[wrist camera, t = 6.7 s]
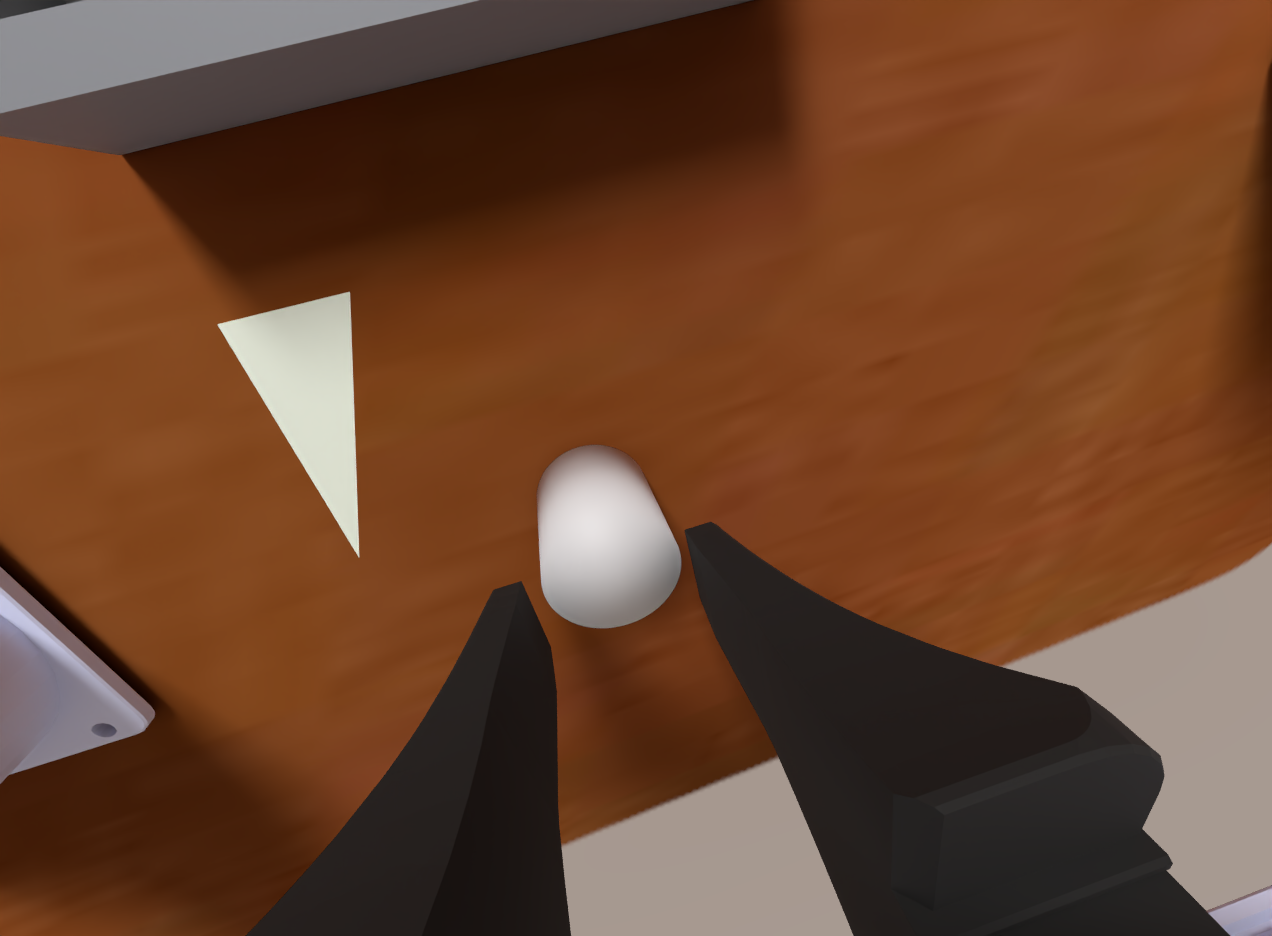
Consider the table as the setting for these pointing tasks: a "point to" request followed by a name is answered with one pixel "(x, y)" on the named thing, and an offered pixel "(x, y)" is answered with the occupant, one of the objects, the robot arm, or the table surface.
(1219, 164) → the table surface
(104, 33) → the box
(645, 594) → the lid
